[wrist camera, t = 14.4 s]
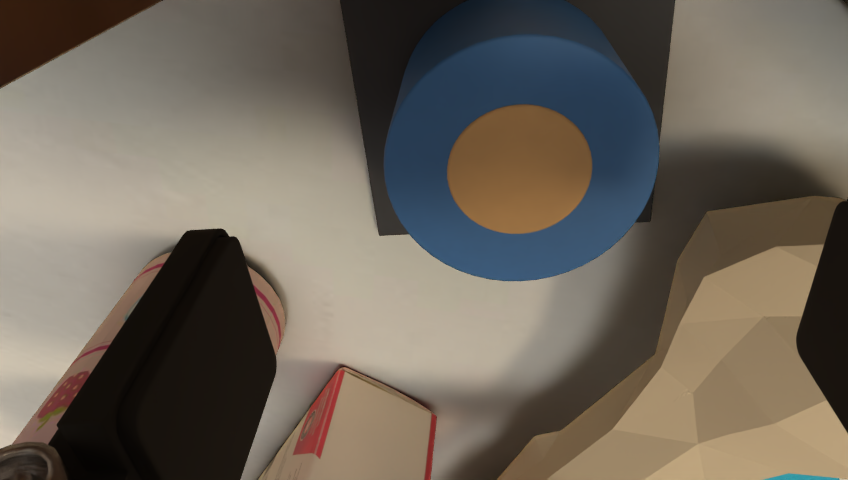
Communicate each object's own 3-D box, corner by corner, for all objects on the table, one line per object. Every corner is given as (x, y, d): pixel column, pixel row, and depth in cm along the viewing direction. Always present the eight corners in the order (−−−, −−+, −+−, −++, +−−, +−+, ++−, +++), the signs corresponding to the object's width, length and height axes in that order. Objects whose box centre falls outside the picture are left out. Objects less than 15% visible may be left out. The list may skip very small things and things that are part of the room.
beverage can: (307, 278, 23) (106, 825, 10) (264, 378, 26) (69, 897, 13) (153, 220, 22) (-277, 744, 9) (127, 330, 25) (-226, 842, 12)
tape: (387, -1, 17) (364, 48, 13) (628, -22, 16) (677, 22, 13) (413, 203, 21) (400, 288, 17) (613, 191, 20) (647, 277, 16)
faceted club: (1000, 248, 19) (527, 571, 33) (774, 85, 19) (395, 476, 33) (1215, 457, 12) (488, 765, 25) (846, 191, 12) (317, 640, 25)
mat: (334, -53, 17) (331, -51, 16) (681, -89, 16) (685, -87, 16) (380, 230, 22) (378, 236, 21) (647, 216, 21) (650, 222, 20)
